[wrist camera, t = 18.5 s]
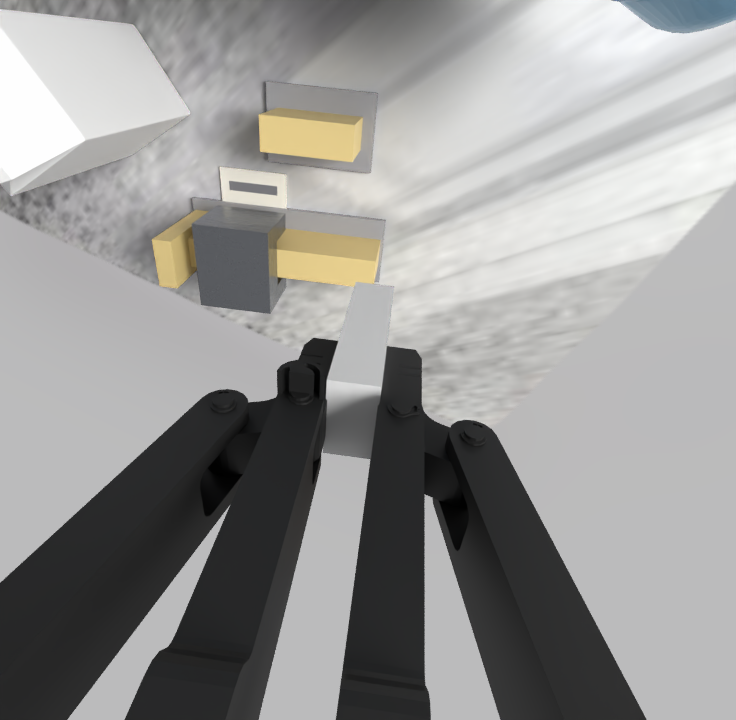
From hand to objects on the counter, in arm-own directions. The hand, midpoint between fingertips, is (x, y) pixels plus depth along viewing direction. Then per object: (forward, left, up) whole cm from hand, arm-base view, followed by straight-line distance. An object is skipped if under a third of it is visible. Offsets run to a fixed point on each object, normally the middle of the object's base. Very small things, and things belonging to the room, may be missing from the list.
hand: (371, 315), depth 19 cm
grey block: (+7, -12, -23) cm, 27 cm away
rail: (+7, -10, -26) cm, 29 cm away
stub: (-3, -7, -26) cm, 27 cm away
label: (+3, -13, -26) cm, 30 cm away
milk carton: (-4, -23, -27) cm, 35 cm away
